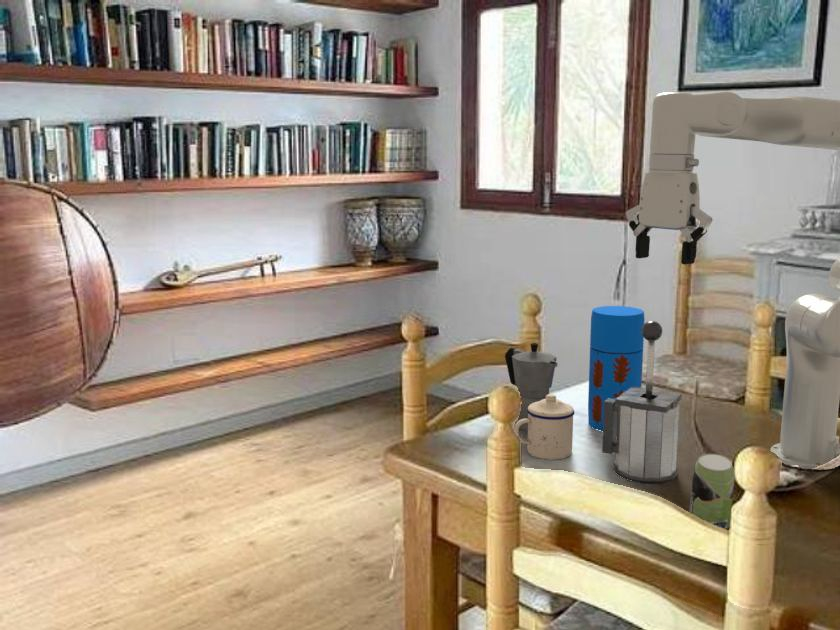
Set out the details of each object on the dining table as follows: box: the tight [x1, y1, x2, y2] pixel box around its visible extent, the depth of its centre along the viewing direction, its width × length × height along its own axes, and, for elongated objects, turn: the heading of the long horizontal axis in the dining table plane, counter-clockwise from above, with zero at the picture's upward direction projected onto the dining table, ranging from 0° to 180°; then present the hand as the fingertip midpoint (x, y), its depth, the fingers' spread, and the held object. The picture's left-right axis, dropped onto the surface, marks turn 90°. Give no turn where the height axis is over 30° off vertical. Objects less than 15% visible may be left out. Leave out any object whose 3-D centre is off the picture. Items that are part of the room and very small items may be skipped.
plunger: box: [641, 320, 663, 399], centre depth 151 cm, size 7×7×18 cm
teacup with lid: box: [513, 393, 575, 461], centre depth 164 cm, size 12×9×12 cm
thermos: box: [587, 305, 646, 432], centre depth 178 cm, size 11×11×25 cm
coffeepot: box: [504, 342, 558, 432], centre depth 181 cm, size 15×9×18 cm, turn 36°
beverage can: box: [689, 453, 736, 529], centre depth 131 cm, size 6×7×12 cm
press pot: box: [601, 386, 682, 485], centre depth 154 cm, size 14×11×14 cm
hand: (664, 260), depth 153 cm, fingers open, 9 cm apart
